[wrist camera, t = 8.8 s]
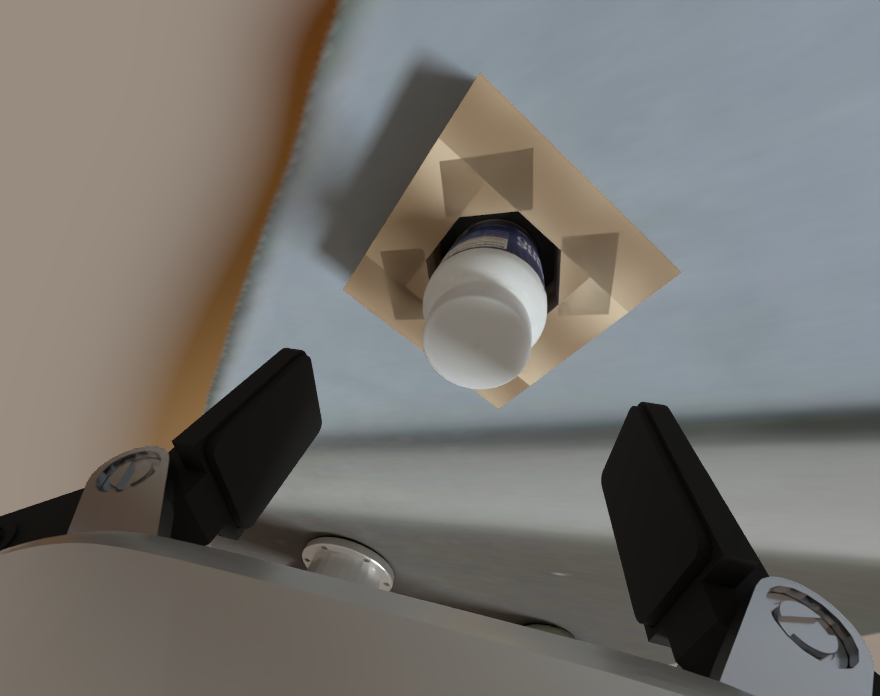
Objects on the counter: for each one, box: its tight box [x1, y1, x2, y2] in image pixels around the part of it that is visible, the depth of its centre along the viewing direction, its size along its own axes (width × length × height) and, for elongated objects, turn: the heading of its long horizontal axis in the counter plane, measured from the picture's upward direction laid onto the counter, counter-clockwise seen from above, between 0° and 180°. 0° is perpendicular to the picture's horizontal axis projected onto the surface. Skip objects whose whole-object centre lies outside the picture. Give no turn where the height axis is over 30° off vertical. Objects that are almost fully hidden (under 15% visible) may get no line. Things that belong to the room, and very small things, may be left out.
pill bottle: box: [422, 219, 547, 389], centre depth 16 cm, size 5×5×10 cm
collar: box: [343, 73, 681, 409], centre depth 19 cm, size 12×12×4 cm
